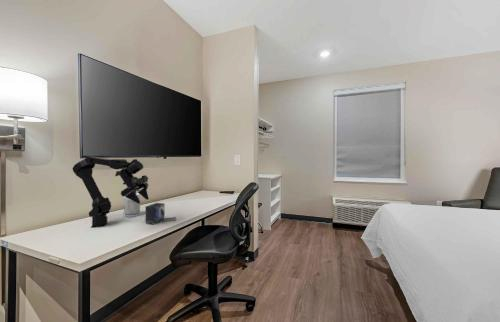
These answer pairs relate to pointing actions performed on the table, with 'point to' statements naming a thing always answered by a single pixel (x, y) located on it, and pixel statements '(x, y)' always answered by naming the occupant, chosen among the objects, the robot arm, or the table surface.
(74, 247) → the table surface
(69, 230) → the table surface
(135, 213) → the supplement tub
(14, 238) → the table surface
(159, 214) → the small box
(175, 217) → the pad
